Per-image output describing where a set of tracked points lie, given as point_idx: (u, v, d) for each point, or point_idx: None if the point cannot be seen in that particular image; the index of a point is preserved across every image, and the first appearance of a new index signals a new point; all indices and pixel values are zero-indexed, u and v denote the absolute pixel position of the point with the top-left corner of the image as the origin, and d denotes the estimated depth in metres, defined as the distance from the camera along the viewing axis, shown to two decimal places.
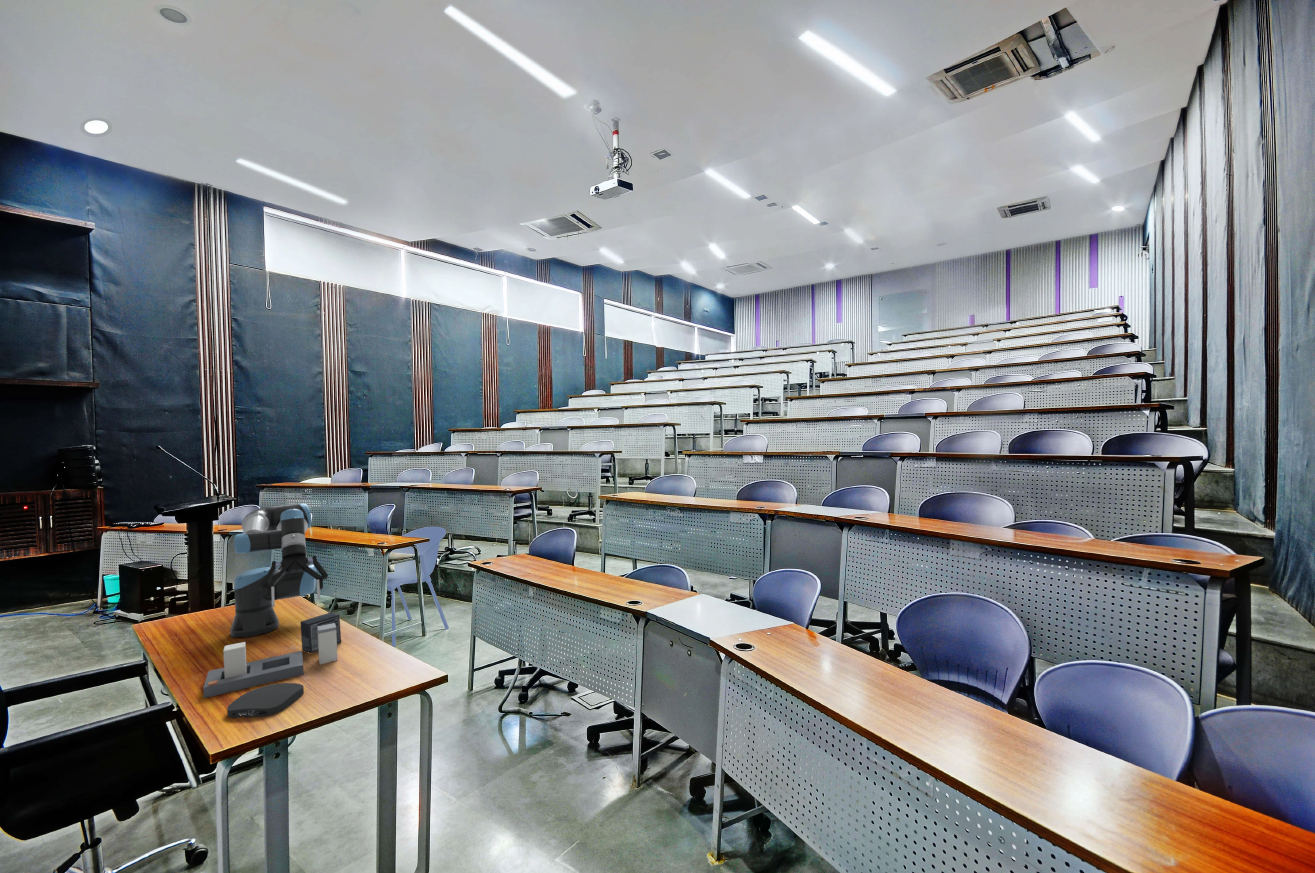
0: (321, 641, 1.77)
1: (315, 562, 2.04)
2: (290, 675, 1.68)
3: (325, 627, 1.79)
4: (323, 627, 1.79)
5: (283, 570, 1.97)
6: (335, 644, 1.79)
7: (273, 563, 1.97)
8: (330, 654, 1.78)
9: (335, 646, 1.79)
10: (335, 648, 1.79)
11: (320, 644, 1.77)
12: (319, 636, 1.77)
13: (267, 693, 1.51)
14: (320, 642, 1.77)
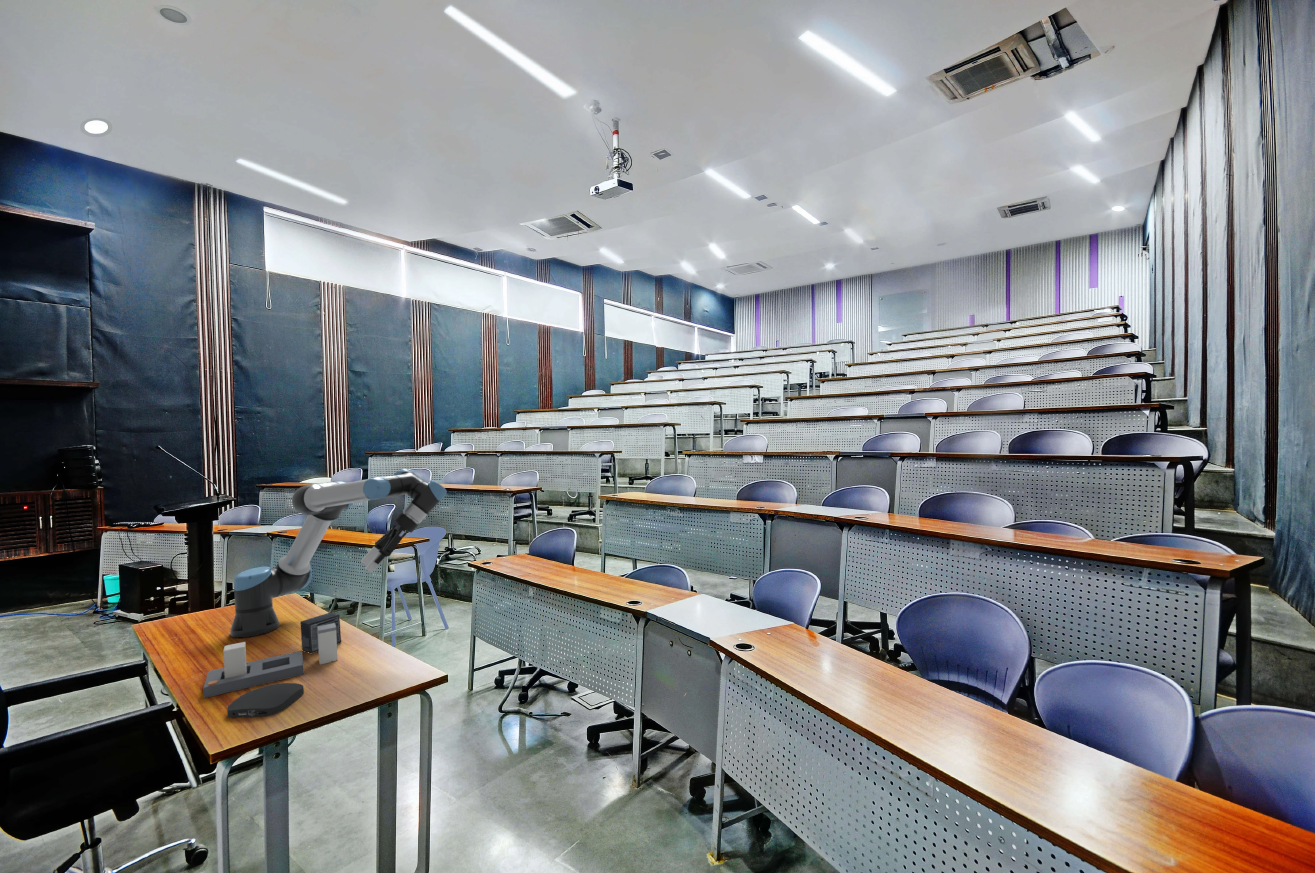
0: (321, 641, 1.77)
1: None
2: (290, 675, 1.68)
3: (325, 627, 1.79)
4: (323, 627, 1.79)
5: None
6: (335, 644, 1.79)
7: (404, 535, 1.90)
8: (330, 654, 1.78)
9: (335, 646, 1.79)
10: (335, 648, 1.79)
11: (320, 644, 1.77)
12: (319, 636, 1.77)
13: (267, 693, 1.51)
14: (320, 642, 1.77)
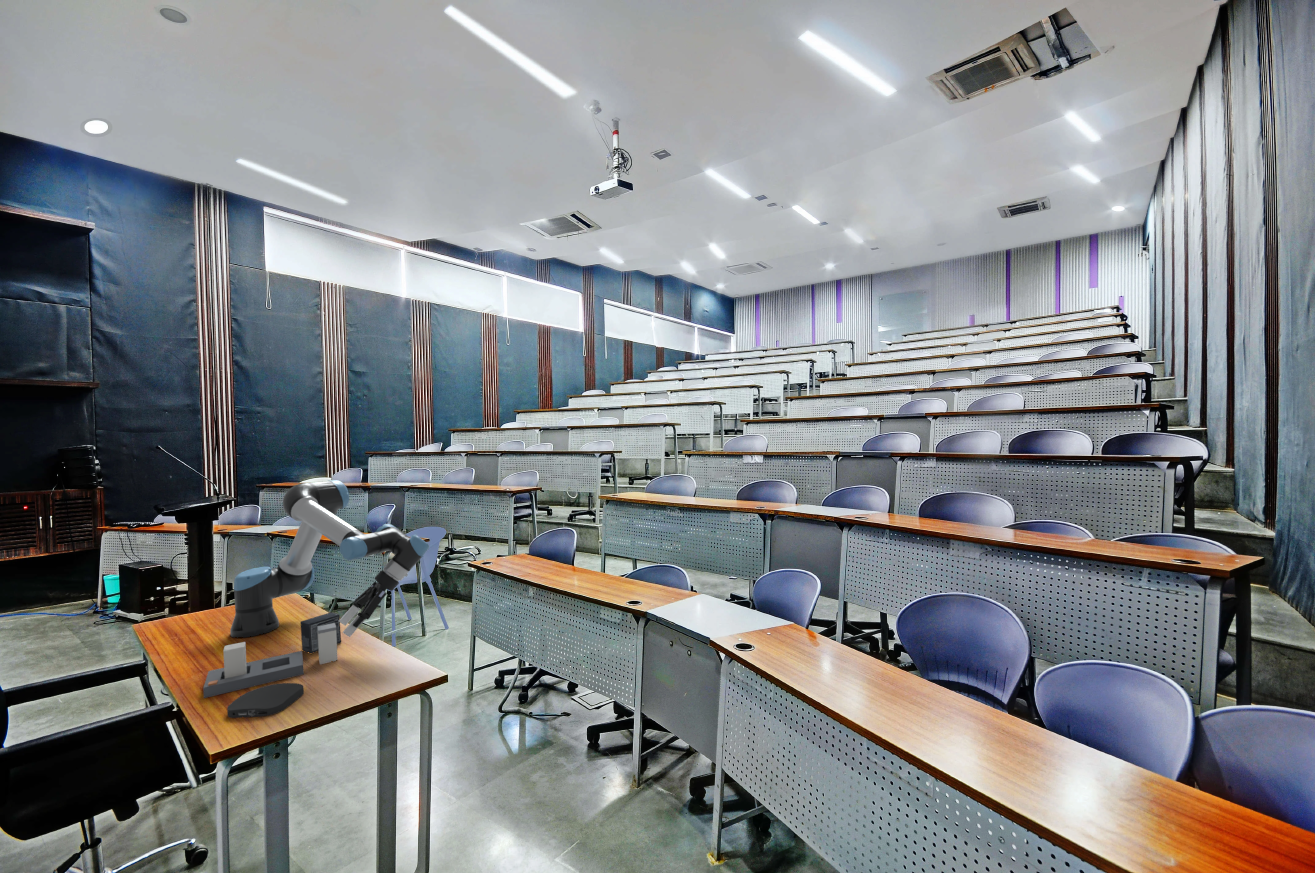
0: (321, 641, 1.77)
1: None
2: (290, 675, 1.68)
3: (325, 627, 1.79)
4: (323, 627, 1.79)
5: None
6: (335, 644, 1.79)
7: (384, 595, 1.83)
8: (330, 654, 1.78)
9: (335, 646, 1.79)
10: (335, 648, 1.79)
11: (320, 644, 1.77)
12: (319, 636, 1.77)
13: (267, 693, 1.51)
14: (320, 642, 1.77)
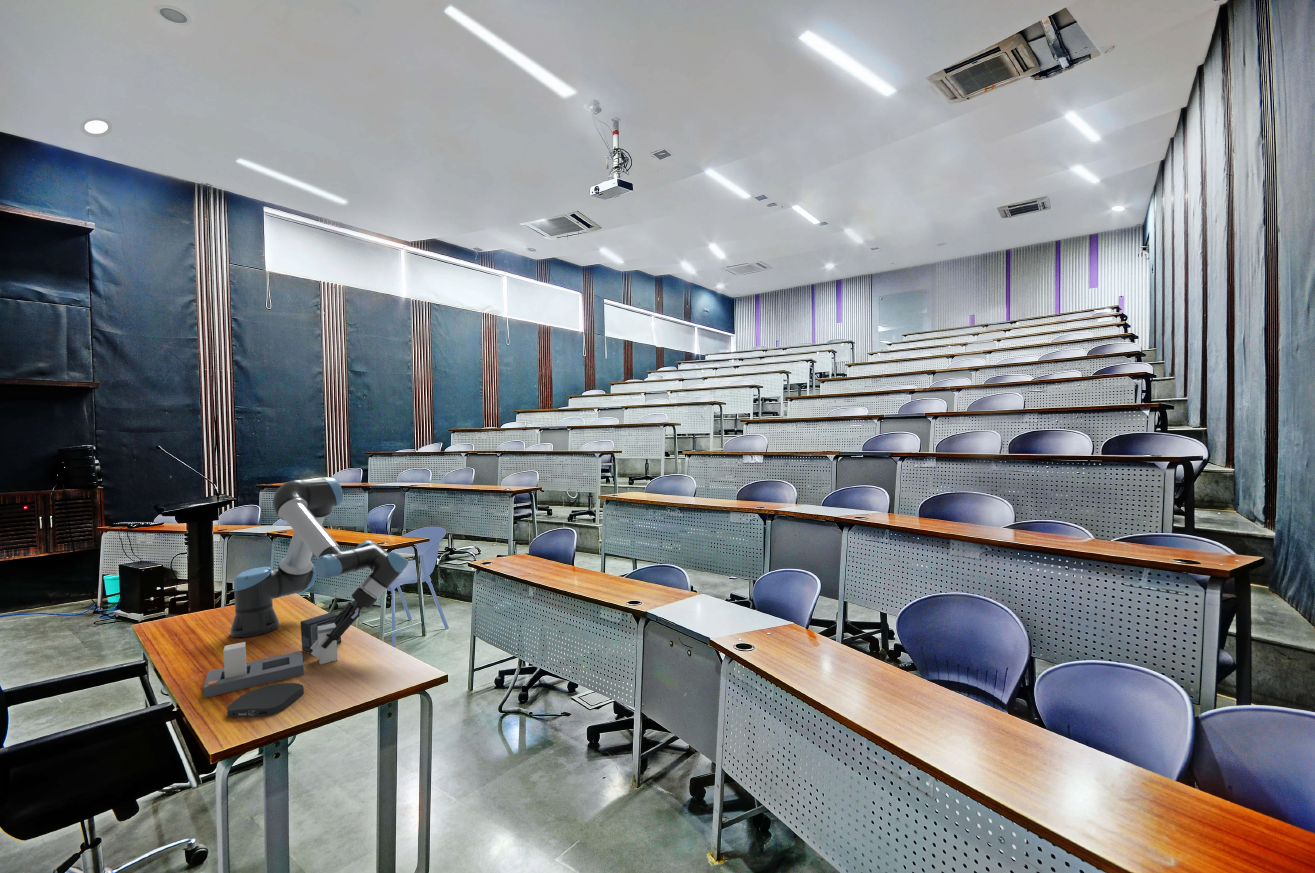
0: (321, 641, 1.77)
1: None
2: (290, 675, 1.68)
3: (325, 627, 1.79)
4: (323, 627, 1.79)
5: None
6: (335, 644, 1.79)
7: None
8: (330, 654, 1.78)
9: (335, 646, 1.79)
10: (335, 648, 1.79)
11: None
12: (319, 636, 1.77)
13: (267, 693, 1.51)
14: (320, 642, 1.77)
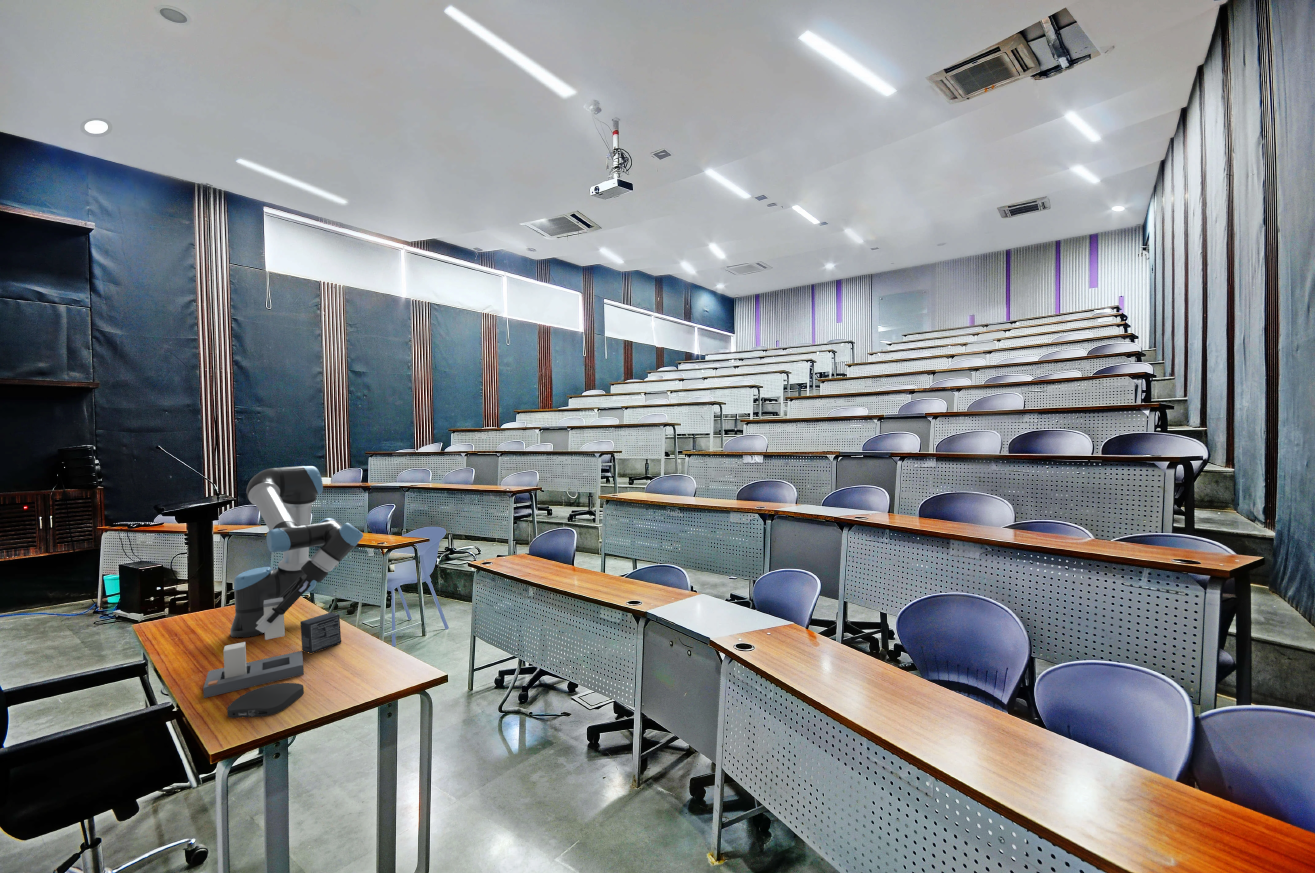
0: (266, 615, 1.68)
1: None
2: (290, 675, 1.68)
3: (272, 601, 1.70)
4: (269, 601, 1.70)
5: None
6: (282, 619, 1.70)
7: (305, 590, 1.71)
8: (276, 629, 1.69)
9: (282, 621, 1.70)
10: (282, 623, 1.70)
11: None
12: (265, 610, 1.68)
13: (267, 693, 1.51)
14: (265, 616, 1.68)
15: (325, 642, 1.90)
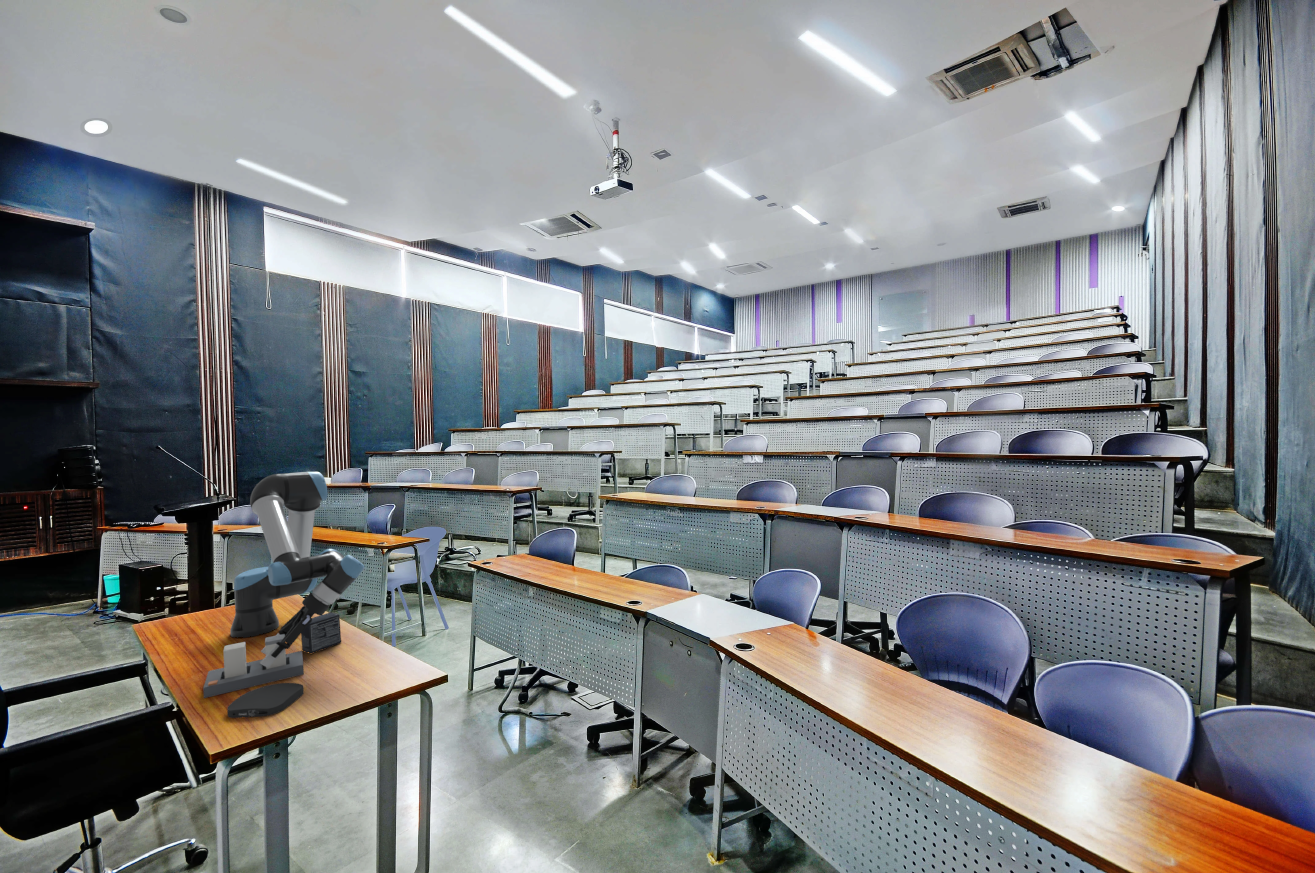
0: None
1: None
2: (290, 675, 1.68)
3: (273, 638, 1.71)
4: (271, 638, 1.71)
5: None
6: (284, 656, 1.70)
7: (309, 622, 1.71)
8: None
9: (284, 658, 1.70)
10: (284, 661, 1.70)
11: None
12: (266, 648, 1.68)
13: (267, 693, 1.51)
14: None
15: (325, 642, 1.90)
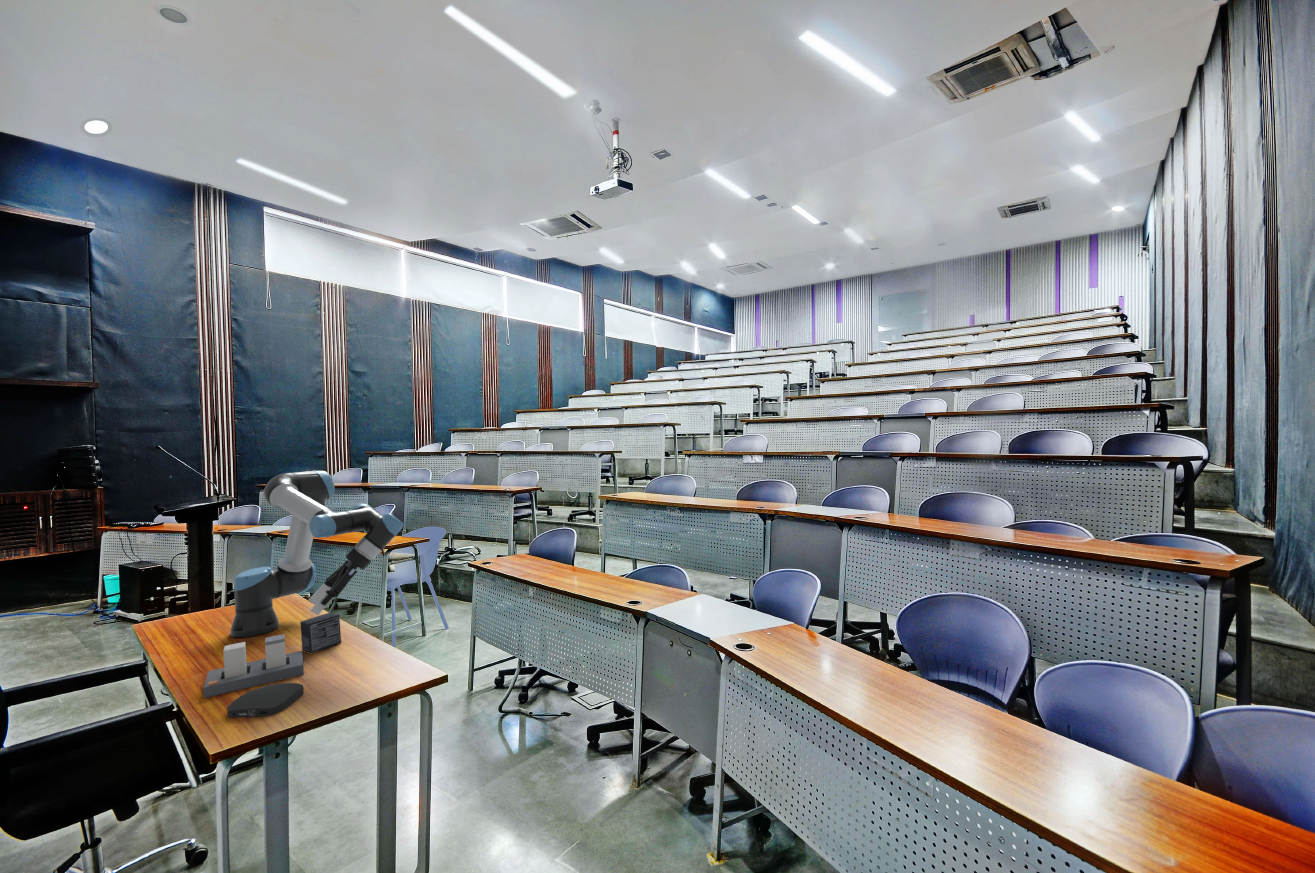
0: (268, 653, 1.68)
1: None
2: (290, 675, 1.68)
3: (273, 638, 1.71)
4: (271, 638, 1.71)
5: None
6: (284, 656, 1.70)
7: (354, 573, 1.78)
8: None
9: (284, 658, 1.70)
10: (284, 661, 1.70)
11: (267, 657, 1.68)
12: (266, 648, 1.68)
13: (267, 693, 1.51)
14: (267, 655, 1.68)
15: (325, 642, 1.90)
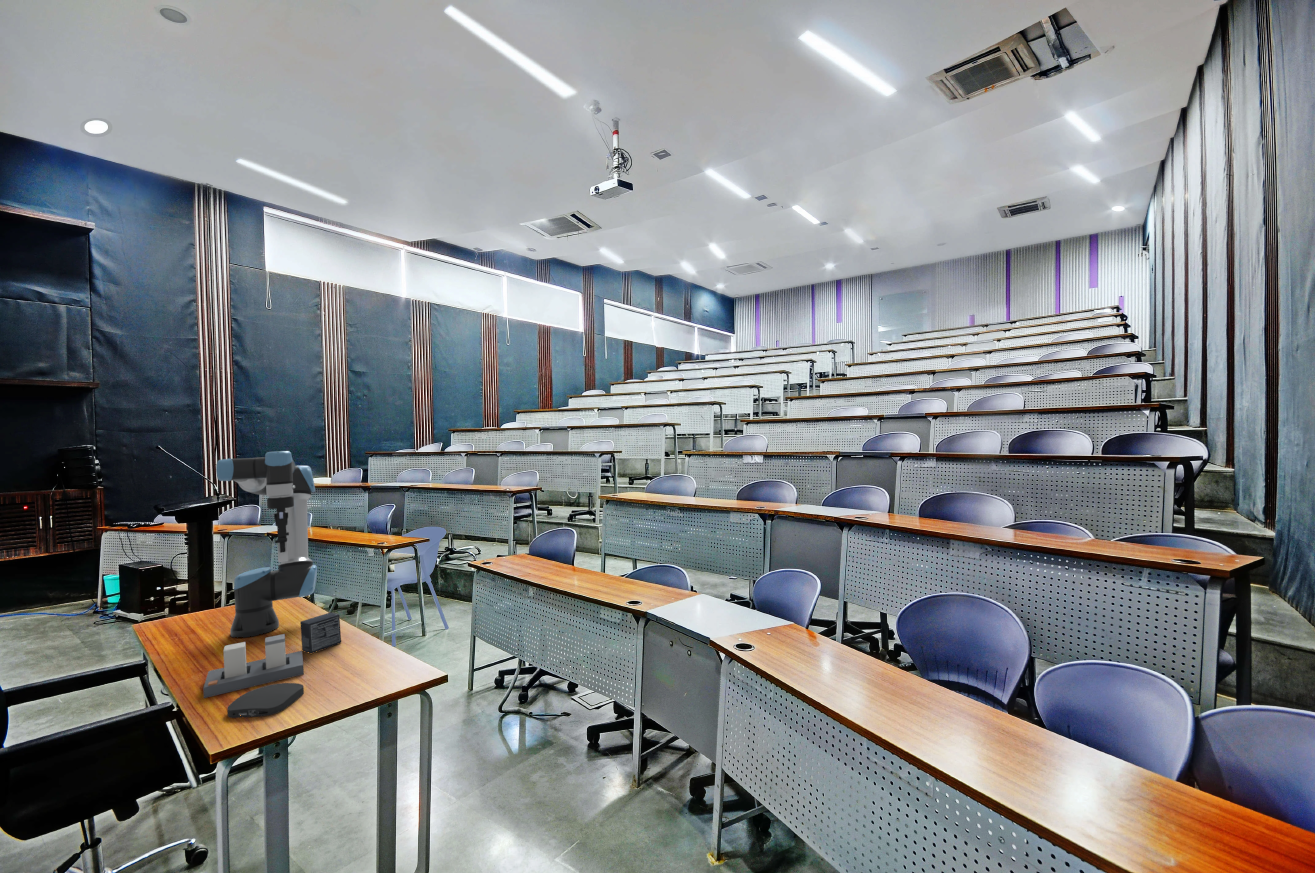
0: (268, 653, 1.68)
1: None
2: (290, 675, 1.68)
3: (273, 638, 1.71)
4: (271, 638, 1.71)
5: (287, 523, 1.84)
6: (284, 656, 1.70)
7: (285, 514, 1.82)
8: None
9: (284, 658, 1.70)
10: (284, 661, 1.70)
11: (267, 656, 1.68)
12: (266, 648, 1.68)
13: (267, 693, 1.51)
14: (267, 655, 1.68)
15: (325, 642, 1.90)
